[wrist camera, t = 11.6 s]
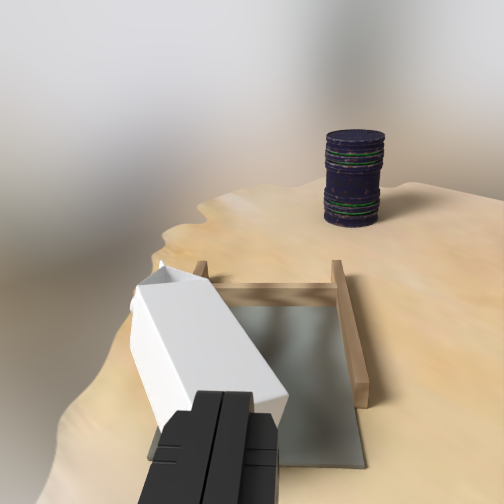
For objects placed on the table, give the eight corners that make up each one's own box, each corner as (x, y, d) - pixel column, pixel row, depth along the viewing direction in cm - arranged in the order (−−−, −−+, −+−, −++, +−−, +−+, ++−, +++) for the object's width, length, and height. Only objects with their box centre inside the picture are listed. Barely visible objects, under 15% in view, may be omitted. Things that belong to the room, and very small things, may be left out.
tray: (339, 279, 58) (340, 260, 56) (380, 469, 32) (383, 442, 31) (200, 279, 59) (198, 260, 58) (133, 459, 34) (126, 433, 33)
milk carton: (267, 460, 33) (184, 312, 47) (291, 395, 30) (194, 257, 44) (181, 491, 29) (119, 321, 43) (197, 420, 26) (124, 262, 40)
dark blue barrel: (344, 232, 72) (349, 143, 65) (312, 214, 80) (314, 134, 73) (390, 220, 75) (399, 135, 69) (355, 204, 83) (360, 127, 77)
